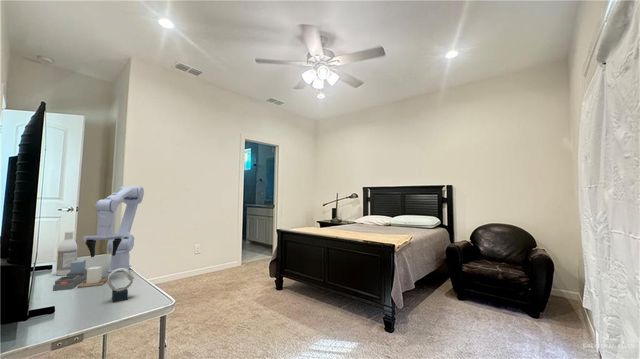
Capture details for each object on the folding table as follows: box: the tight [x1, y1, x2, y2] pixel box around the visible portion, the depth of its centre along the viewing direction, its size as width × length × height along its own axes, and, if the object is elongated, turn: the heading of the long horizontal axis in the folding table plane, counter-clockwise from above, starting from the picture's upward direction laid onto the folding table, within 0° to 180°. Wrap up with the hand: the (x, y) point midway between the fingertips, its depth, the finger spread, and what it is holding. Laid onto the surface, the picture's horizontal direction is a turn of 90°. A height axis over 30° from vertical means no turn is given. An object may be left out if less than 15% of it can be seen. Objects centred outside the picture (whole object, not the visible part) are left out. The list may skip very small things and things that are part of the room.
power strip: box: [52, 268, 88, 292], centre depth 117 cm, size 24×6×4 cm, turn 24°
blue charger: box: [70, 259, 87, 273], centre depth 119 cm, size 4×4×6 cm
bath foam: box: [55, 230, 79, 277], centre depth 127 cm, size 7×7×20 cm
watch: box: [106, 268, 135, 304], centre depth 99 cm, size 6×8×11 cm
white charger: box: [85, 265, 103, 284], centre depth 114 cm, size 4×4×6 cm
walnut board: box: [77, 277, 108, 289], centre depth 114 cm, size 9×8×1 cm
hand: (103, 256), depth 120 cm, fingers open, 7 cm apart
